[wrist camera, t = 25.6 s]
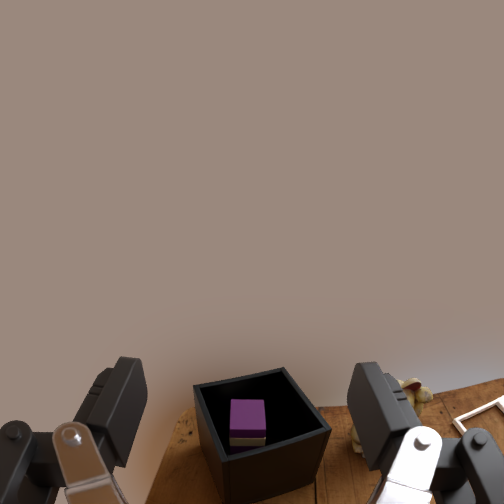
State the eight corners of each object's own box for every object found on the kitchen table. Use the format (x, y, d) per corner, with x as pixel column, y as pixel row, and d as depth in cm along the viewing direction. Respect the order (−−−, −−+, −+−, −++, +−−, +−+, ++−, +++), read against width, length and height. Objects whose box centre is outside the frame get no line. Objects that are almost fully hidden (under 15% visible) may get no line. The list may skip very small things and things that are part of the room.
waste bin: (225, 510, 29) (221, 462, 25) (200, 444, 40) (192, 384, 36) (313, 483, 34) (332, 428, 30) (276, 426, 45) (284, 366, 41)
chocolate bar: (261, 476, 34) (266, 429, 31) (230, 476, 34) (229, 429, 31) (259, 449, 39) (264, 399, 36) (231, 448, 39) (230, 398, 36)
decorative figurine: (347, 465, 36) (376, 396, 31) (342, 426, 44) (363, 355, 39) (407, 459, 35) (445, 390, 31) (396, 423, 43) (425, 353, 38)
